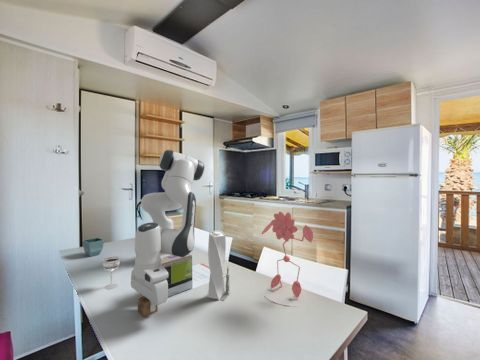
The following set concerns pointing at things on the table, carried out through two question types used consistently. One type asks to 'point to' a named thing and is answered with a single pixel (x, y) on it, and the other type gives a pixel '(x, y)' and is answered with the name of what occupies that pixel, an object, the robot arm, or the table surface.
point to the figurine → (285, 230)
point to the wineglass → (111, 268)
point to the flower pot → (93, 246)
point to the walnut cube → (145, 306)
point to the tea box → (177, 272)
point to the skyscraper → (217, 266)
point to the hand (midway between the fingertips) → (147, 307)
